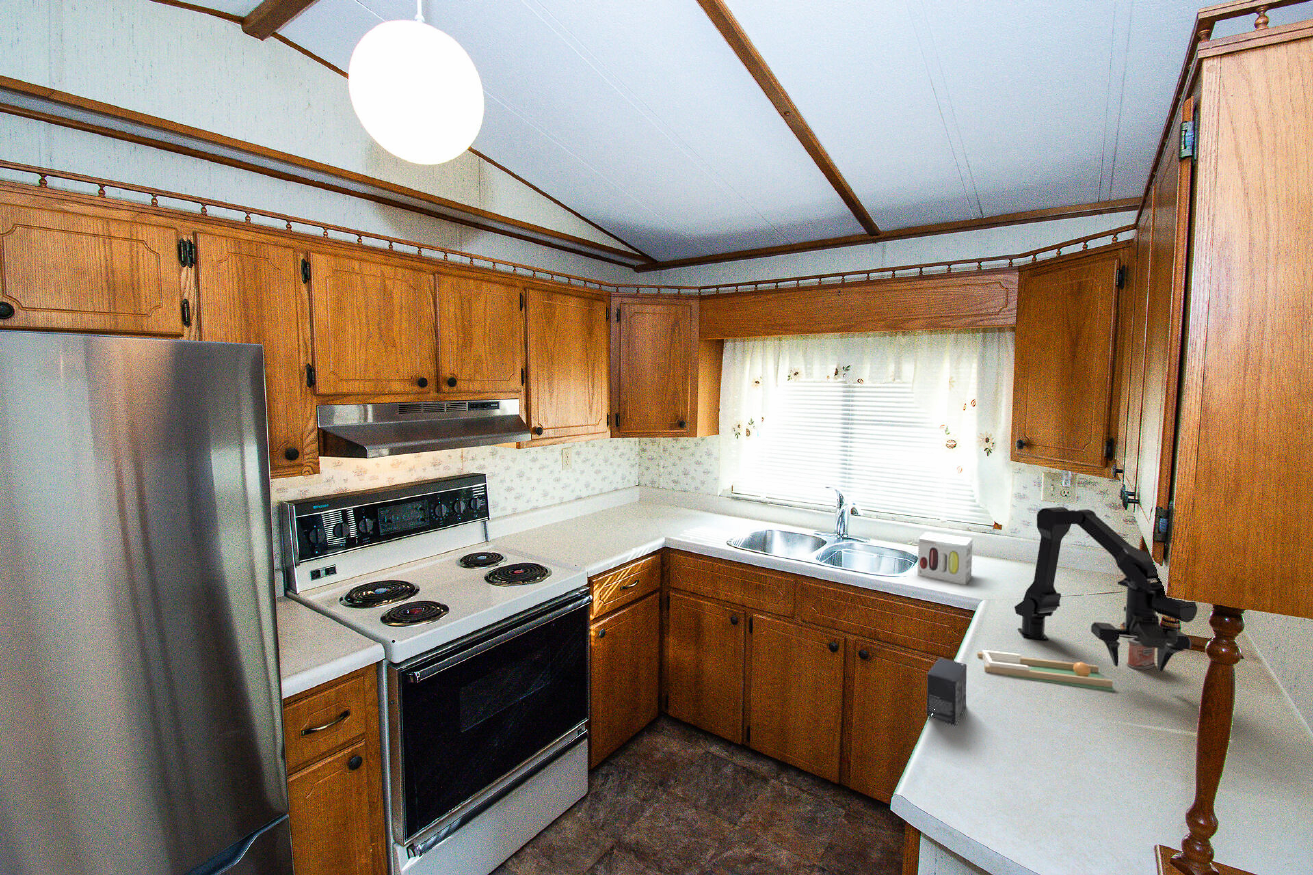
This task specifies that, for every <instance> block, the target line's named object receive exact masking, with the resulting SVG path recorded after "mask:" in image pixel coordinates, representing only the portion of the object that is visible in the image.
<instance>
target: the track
mask: <svg viewBox="0 0 1313 875" xmlns="http://www.w3.org/2000/svg"><path fill="white" fill-rule="evenodd" d="M976 654H977V658H978V659H982V652H979V651H977V653H976ZM1075 663H1076V662H1068V661H1059V660H1053V659H1051V660H1050V659H1044V658H1043V659H1041V658H1034V657H1033V658H1032V657H1024V656H1020V665H1030V666H1033V667H1029V671H1026V670H1017V669H1009V668H1000V667H992V666H989V665H985V664H984V668H983V669H984V672H986V673H992V674H999V675H1004V676H1005V677H1006V678H1007V677H1008V678H1014V679H1015V678H1016V679H1023V680H1029V681H1036V682H1043V683H1051V684H1057V685H1064V686H1070V687H1071V686H1072V687H1078V688H1084V689H1091V690H1092V689H1093V690H1097V691H1098V690H1099V691H1104V692H1105V691H1106V692H1115V689H1114V687H1113V683H1114V681H1113V680H1112V679H1110V678H1109V679H1108V678H1104V677H1103V675H1101V674H1100V673H1099V670H1100V669H1099V668H1100V667H1099V666H1098V665H1096V664H1095V665H1094V664H1087V663H1086V664H1087V665H1088V666H1089V668H1090V674H1089V675H1088V676H1087V677H1084V676H1078V675H1077V674H1075V672H1074V670H1073V666H1074V664H1075Z"/></svg>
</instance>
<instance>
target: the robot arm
mask: <svg viewBox="0 0 1313 875" xmlns="http://www.w3.org/2000/svg"><path fill="white" fill-rule="evenodd" d="M1072 525H1077V526H1079V527H1080V528H1081V529H1082V530H1083V531H1084V532H1085V533H1086V534H1087V535H1088V536H1090V537H1091V538H1092V539H1093V540H1094V541H1095V542H1096V543H1098V544H1099V545H1100V546H1101V547H1102V548H1103V549H1104V550H1106V551H1107V553H1109V554H1110V555H1111V556H1112V557H1113V559H1114V560H1115V563H1116V566H1117V568H1118V569H1119V570H1120V571H1121V572H1122V574H1123V575H1124V576H1125V577H1124V578H1123V579H1122V580H1120V581H1119V580H1118V581H1117V584H1118V585H1119V586H1123V587H1126V599H1125V600H1126V601H1125V602H1126V605H1125V606H1123V611H1124V612H1125V621H1123V622H1122V627H1123V628H1116V627H1115V626H1114V625H1113V624H1111V623H1108V622H1100V621H1099V622H1098V621H1097V622H1096V621H1094V622H1093V623H1092V625H1091V626H1090V627H1091V628H1090V632H1091V633H1092V634H1093V636H1095V637H1097V639H1099V640H1100V641H1102V642H1103V643H1104V645H1105V646H1106V648H1107V650H1108V653H1109V656H1110V658H1111V660H1112V664H1113V665H1114V666H1115V667H1118V666H1119V647H1120V645H1121V643H1120V642H1119V641H1118V640H1120V638H1127V639H1130V638H1138V639H1139V641H1140V643H1141V645H1142V646H1144V647H1147V648H1151V647H1153V648H1155V649H1157V654H1156V655H1157V656H1156V664H1157V670H1158V671H1159V672H1163V670H1164V669H1165V667H1166V665H1167V664H1168V663H1169V661H1170V659H1171V657H1173V656H1174V654H1176V653H1179V652H1184V651H1185V650H1191V649H1192V641H1191V638H1190V637H1189V636H1188V635H1187V634H1185V633H1184V632H1182V631H1181V630H1179V629H1176V628H1174V627H1165V626H1161V624H1160V619H1159V616H1158V615H1162V616H1165V617H1167V618H1168V617H1169V618H1171V619H1174V620H1177V621H1181V622H1183V623H1190V622H1193V620H1194V619H1195V618H1196V616H1197V613H1198V606H1197V603H1196V601H1195V602H1185V601H1182V600H1175V599H1172V598H1167V597H1166V595H1165V591H1164V586H1163V585H1162V582H1161V581H1160V579H1159V578H1158V574H1157V569H1156V567H1155V565H1153V562H1152V561H1151V557H1150V556H1149V555H1150V554H1149V553H1148V552H1147V551H1144V550H1142V549H1140V548H1139V549H1138V548H1136V547H1135V546H1133V545H1131V544H1130V543H1129V542H1127V541H1126V540H1125V539H1124V538H1123V537H1122V536H1121V535H1119V534H1118V533H1117V532H1116V531H1115V530H1114V529H1112V528H1111V527H1110V526H1109V525H1108V524H1107V523H1106V522H1104V521H1103V520H1102V519H1101V518H1099V516H1097V514H1096V513H1095V511H1093V510H1091V509H1085V508H1084V509H1070V510H1069V509H1068V508H1066V507H1064V506H1056V507H1054V506H1053V507H1045V508H1044V507H1043V508H1041V509H1039V510H1038V511H1037V514H1036V528H1037V530H1038V532H1039V534H1040V540H1039V548H1038V551H1037V552H1038V553H1037V557H1036V558H1037V559H1036V565H1035V571H1034V577H1033V582H1032V583H1031V584H1030V585H1029V586H1028V587H1027V589H1026V590H1025V594H1024V596H1023V600H1022V601H1021V602H1019V603H1018V604H1016V605H1015V606H1014V610H1015V614H1016V615H1018V616H1021V627H1020V628H1019V627H1018V628H1017V631H1018V632H1019V634H1020V635H1021V636H1022V637H1023V638H1024V639H1034V640H1043V641H1049V640H1050V639H1049V637H1048V636H1047V635H1046V634H1045V628H1046V617H1052V616H1053V614H1054V612H1055V611H1056V610H1058V607H1059V608H1060V607H1061V604H1060V600H1061V597H1062V594H1061V593H1060V592H1057V590H1056V588H1055V579H1056V573H1057V568H1058V562H1059V556H1060V550H1061V544H1062V540H1063V538H1064V537H1065V536H1066V535H1067V534H1068V533H1069V531H1070V529H1071V526H1072ZM1150 581H1151V582H1150ZM1153 581H1154V582H1153ZM1157 614H1158V615H1157Z"/></svg>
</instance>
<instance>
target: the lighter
mask: <svg viewBox="0 0 1313 875" xmlns="http://www.w3.org/2000/svg"><path fill="white" fill-rule="evenodd" d="M1127 643H1128V652H1127V653H1128V657H1127V658H1128V659H1127V663H1126V666H1127V667H1128V668H1130V669H1133V670H1136V671H1137V670H1149V669H1153V668H1155V667H1156V662H1155V655H1156V648H1153V647H1151V648H1147V647H1144V646H1142V645H1141V643H1140V641H1139V639H1138V638H1127Z"/></svg>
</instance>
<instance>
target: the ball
mask: <svg viewBox="0 0 1313 875" xmlns="http://www.w3.org/2000/svg"><path fill="white" fill-rule="evenodd" d="M1074 663H1075V664H1074V666H1073V670H1074V672H1075V674H1077V675H1078V676H1084V677H1087V676H1088V675H1089V674H1090V668H1089V666H1088V665H1089V664H1088V665H1087V663H1085V662H1083V661H1077V662H1074Z"/></svg>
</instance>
